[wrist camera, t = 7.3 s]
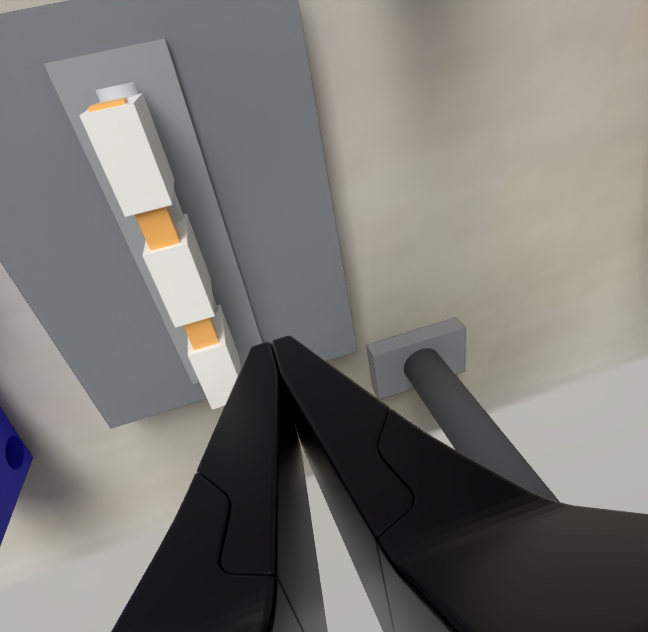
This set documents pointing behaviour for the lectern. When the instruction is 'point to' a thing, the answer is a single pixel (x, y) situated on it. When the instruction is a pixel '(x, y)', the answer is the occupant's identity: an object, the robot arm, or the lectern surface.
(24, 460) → the cable clip
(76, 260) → the breaker panel
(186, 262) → the breaker paddles
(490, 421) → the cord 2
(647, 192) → the lectern surface
